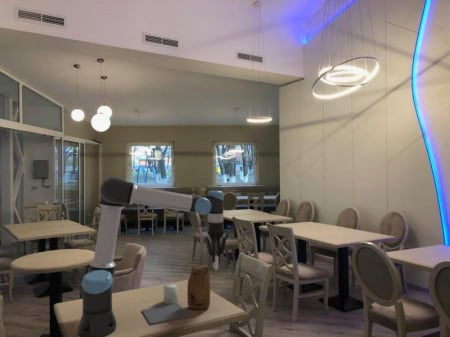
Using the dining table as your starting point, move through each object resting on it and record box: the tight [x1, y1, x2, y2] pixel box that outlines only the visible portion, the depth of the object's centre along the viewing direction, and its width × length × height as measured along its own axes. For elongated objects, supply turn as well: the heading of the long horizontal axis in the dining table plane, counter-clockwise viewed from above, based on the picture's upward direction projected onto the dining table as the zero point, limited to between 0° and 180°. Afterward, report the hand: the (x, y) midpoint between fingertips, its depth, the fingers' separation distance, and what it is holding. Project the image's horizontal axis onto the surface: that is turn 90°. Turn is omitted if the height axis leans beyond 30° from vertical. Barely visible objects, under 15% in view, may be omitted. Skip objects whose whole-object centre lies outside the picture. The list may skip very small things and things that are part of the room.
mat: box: [141, 302, 190, 326], centre depth 158 cm, size 18×16×1 cm
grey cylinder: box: [163, 283, 179, 305], centre depth 173 cm, size 7×7×8 cm
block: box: [186, 264, 211, 310], centre depth 166 cm, size 11×8×20 cm
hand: (215, 268), depth 170 cm, fingers closed
